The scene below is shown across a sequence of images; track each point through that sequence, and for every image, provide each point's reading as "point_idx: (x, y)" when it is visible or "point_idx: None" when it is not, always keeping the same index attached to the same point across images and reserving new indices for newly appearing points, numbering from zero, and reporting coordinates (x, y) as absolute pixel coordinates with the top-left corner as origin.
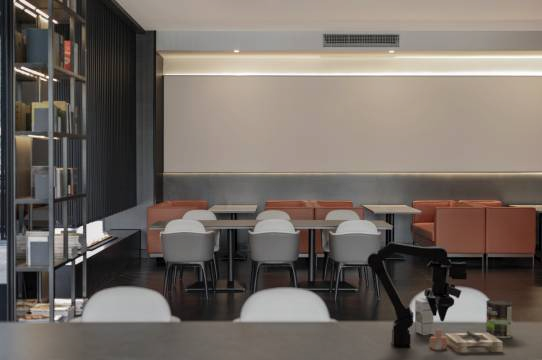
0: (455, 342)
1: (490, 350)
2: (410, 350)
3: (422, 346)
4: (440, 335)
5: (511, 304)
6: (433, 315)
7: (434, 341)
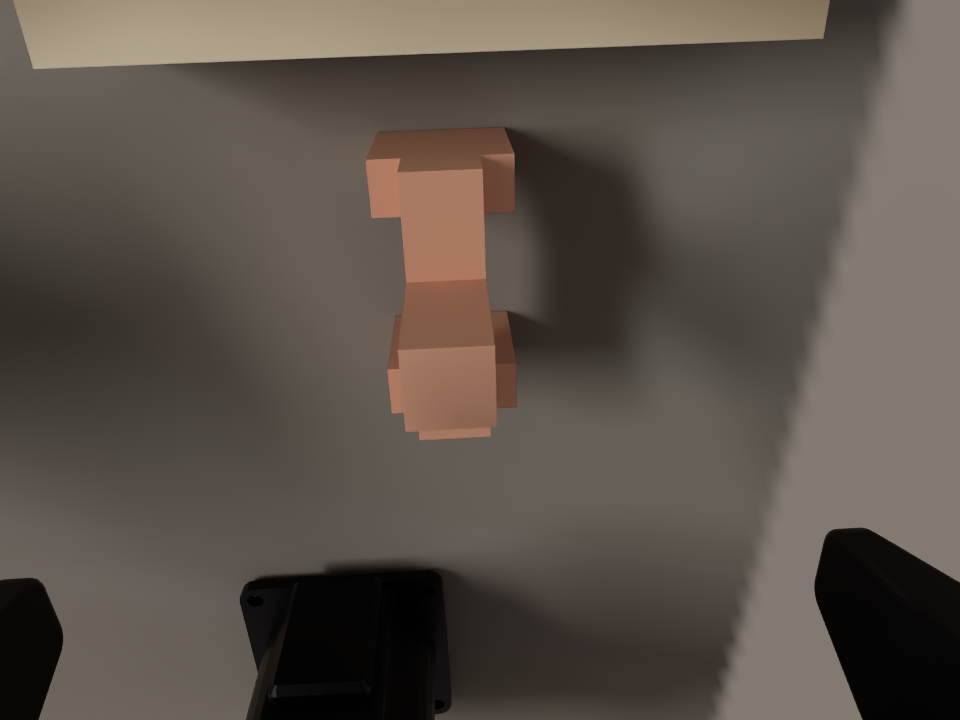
0: (732, 40)
1: None
2: (556, 584)
3: (379, 435)
4: (487, 304)
5: None
6: (61, 647)
7: (514, 368)
